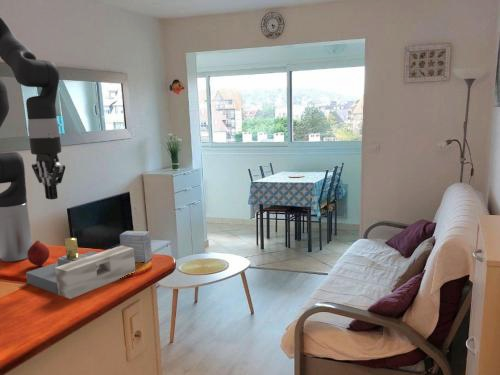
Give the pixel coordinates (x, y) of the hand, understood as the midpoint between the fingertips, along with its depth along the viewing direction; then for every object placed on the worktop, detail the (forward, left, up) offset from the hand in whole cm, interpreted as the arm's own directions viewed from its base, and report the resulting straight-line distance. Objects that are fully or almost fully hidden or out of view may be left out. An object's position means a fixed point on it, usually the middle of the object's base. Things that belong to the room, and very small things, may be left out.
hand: (51, 198), depth 117 cm
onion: (-9, -1, -21) cm, 23 cm away
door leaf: (+8, 0, -21) cm, 22 cm away
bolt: (+10, 0, -18) cm, 20 cm away
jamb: (+18, 0, -21) cm, 28 cm away
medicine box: (+13, +17, -21) cm, 30 cm away
